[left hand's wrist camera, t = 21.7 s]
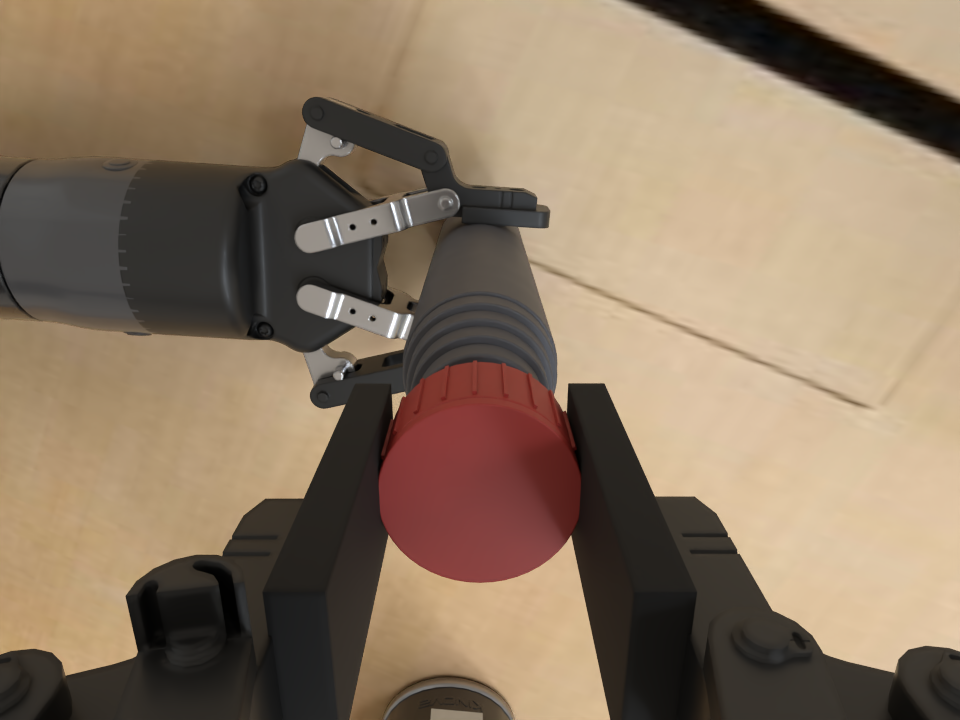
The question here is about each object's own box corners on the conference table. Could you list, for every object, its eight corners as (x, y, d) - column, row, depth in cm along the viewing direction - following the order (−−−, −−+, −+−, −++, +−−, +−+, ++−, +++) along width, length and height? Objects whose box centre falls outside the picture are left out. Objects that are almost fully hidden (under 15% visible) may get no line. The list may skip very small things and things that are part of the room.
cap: (564, 347, 14) (578, 388, 12) (578, 512, 15) (594, 574, 13) (373, 369, 14) (355, 414, 12) (405, 531, 15) (393, 595, 13)
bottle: (448, 192, 35) (390, 354, 12) (529, 211, 35) (618, 404, 13) (432, 272, 37) (352, 548, 14) (509, 289, 37) (557, 588, 14)
